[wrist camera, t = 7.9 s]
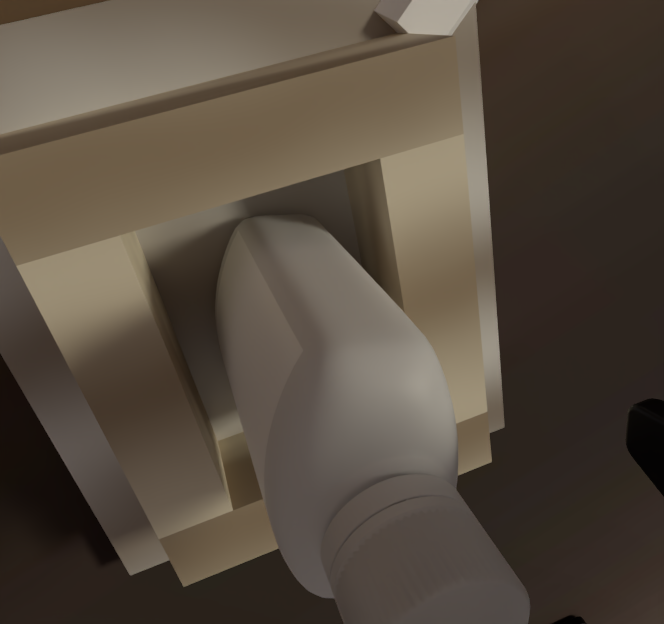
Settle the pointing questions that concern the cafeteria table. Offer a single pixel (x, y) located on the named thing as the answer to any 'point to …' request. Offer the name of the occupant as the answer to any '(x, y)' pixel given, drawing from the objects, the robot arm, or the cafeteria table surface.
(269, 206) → the collar block
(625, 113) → the cafeteria table surface
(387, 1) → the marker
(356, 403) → the eye dropper bottle
